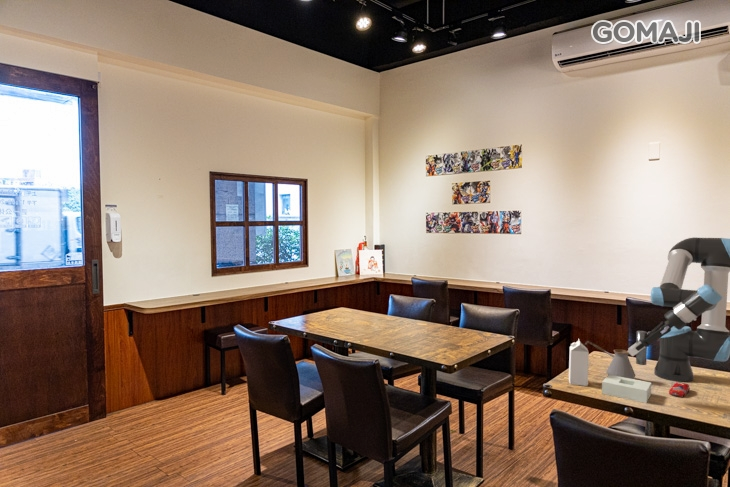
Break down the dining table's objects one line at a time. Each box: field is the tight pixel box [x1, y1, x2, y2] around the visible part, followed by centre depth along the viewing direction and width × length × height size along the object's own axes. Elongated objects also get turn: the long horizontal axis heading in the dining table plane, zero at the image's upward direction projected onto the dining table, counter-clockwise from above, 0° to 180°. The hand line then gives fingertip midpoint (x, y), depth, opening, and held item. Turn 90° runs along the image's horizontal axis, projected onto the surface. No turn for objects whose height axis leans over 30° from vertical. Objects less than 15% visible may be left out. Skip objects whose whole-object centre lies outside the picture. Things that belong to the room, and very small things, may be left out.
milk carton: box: [568, 338, 590, 387], centre depth 209 cm, size 7×7×19 cm
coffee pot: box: [584, 340, 636, 379], centre depth 217 cm, size 21×12×15 cm, turn 45°
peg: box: [635, 330, 648, 366], centre depth 191 cm, size 4×4×13 cm
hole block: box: [601, 374, 652, 404], centre depth 196 cm, size 16×12×5 cm
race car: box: [668, 381, 691, 398], centre depth 198 cm, size 13×5×4 cm, turn 132°
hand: (630, 352), depth 194 cm, fingers closed on peg, 3 cm apart
